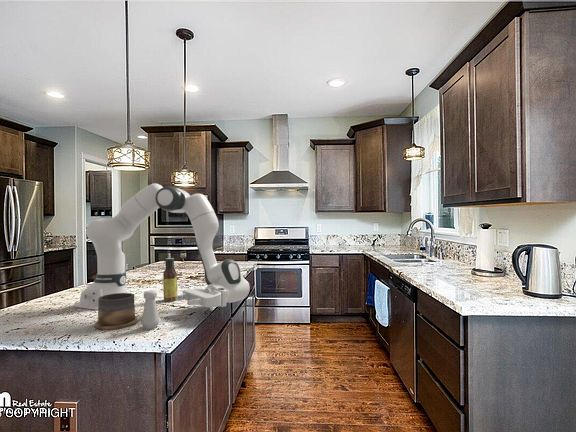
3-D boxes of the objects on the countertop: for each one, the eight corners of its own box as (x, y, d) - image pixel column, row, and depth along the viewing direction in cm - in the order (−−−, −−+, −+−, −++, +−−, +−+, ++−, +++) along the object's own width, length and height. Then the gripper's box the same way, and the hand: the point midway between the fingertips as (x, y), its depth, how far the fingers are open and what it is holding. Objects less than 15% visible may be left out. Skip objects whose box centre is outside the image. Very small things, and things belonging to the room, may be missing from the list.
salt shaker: (144, 325, 119) (144, 289, 119) (161, 325, 119) (161, 289, 119) (138, 331, 113) (138, 292, 113) (156, 330, 113) (156, 292, 113)
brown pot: (85, 328, 115) (85, 300, 116) (113, 317, 129) (113, 291, 129) (120, 331, 113) (120, 301, 113) (145, 319, 126) (145, 293, 126)
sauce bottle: (179, 300, 156) (179, 258, 156) (167, 302, 152) (167, 259, 152) (173, 298, 161) (173, 257, 161) (160, 300, 156) (160, 258, 156)
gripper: (201, 283, 141) (170, 288, 132) (228, 290, 127) (195, 296, 117) (201, 298, 141) (170, 304, 132) (228, 307, 127) (195, 314, 117)
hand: (182, 300), depth 124 cm, fingers open, 8 cm apart
